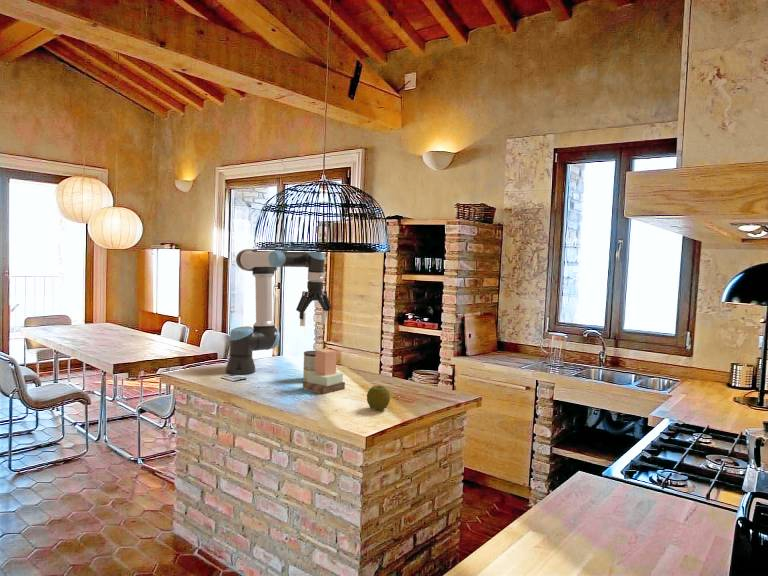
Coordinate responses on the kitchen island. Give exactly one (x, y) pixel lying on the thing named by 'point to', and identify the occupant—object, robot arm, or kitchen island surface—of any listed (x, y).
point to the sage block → (324, 378)
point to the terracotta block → (325, 362)
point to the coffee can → (309, 363)
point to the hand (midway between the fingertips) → (313, 324)
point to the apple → (378, 397)
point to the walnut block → (323, 387)
